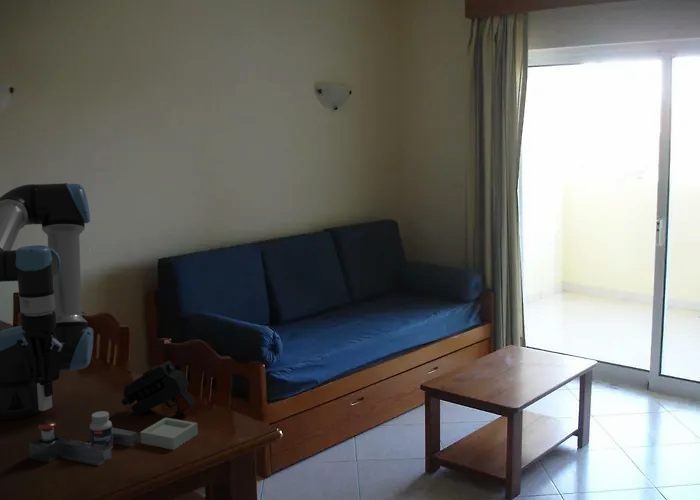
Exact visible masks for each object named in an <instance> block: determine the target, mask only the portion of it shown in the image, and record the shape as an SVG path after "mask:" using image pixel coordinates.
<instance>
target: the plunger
mask: <svg viewBox="0 0 700 500" xmlns="http://www.w3.org/2000/svg"><path fill="white" fill-rule="evenodd" d="M56 426H57V425H56V421H54V420H47V421H42V422H40V423H39V424H38V430H40V431H41V433H40V435H41V437H42V443H46V444H49V443H51V442H53V441H55V438H54V434H55V428H56Z"/></svg>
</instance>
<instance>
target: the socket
mask: <svg viewBox="0 0 700 500" xmlns="http://www.w3.org/2000/svg"><path fill="white" fill-rule="evenodd" d="M112 434H113V444H117V445H121V446H126V447H133V446H135V445H136V444H139V443H141V436H138V432H137V431H132V430H126V429H122V428H116V427H112ZM67 441H68V442H66V443H65V452H64V453H62V454H60V455H59V458H58V459H64V460H70V461H74V462H78V463H82V464H86V465H92V466H96V467H99V466H101V465H103V464H104V463H106V462H109V460H111V459H112V449H111V447H107V446H102V445H98V444H93V443H90V442H87V441H81V440H77V439H74V438H73V439H72V438H71V439H70V440H67Z"/></svg>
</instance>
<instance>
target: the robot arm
mask: <svg viewBox="0 0 700 500" xmlns="http://www.w3.org/2000/svg"><path fill="white" fill-rule="evenodd" d="M86 193H87V192H86V190H85V189H84V186H83V185H81V184H79V183H67V182H65V183H43V184H42V183H41V184H35V183H31V184H25V185H23V184H22V185H21V186H16V187H14V188H12V189H10V190H9V191H7V192H5V193H4V194H3V195H2V196H0V283H1V282H3V283H5V282H17V287H18V298H19V309H20V310H19V311H20V313H21V315H20V324H21V325H17V326H14V327H9V328H5V329H3V330H0V420H6V421H7V420H17V419H18V420H19V419H24V418H27V417H33V416H34V415H37V414H39V413H41V412H44V411H47V410H49V409H51V408H53V400H52V399H53V397H52V396H53V394H54V391H53V383H54V382H55V381H58V380H59V379H60V374H61V372H65V371H66V372H67V371H70V372H73V371H76V370H83V369H86V368H87V367H88V366H89V365H90V363H91V360H92V355H93V347H94V329H93V328H92V327H90V326H88V321H87V320H86V319H85V318H84V317H83V316H82V286H81V283H82V281H81V253H80V252H81V249H80V247H81V245H80V243H81V241H80V235H81V234H82V233H83V232H84V231H85V228H86V227H85V226H86V225H85V224H88V223H90V222H91V219H90V218H91V217H90V216H91V213H90V208H89V202H88V197H87V194H86ZM29 225H41V230H42V232H43V233H45V234H46V236H47V245H42V244H41V245H37V244H35V245H27V246H26V245H25V246H21V247H18V248H16V250H14V249H13V250H12V248H13V246H14V243H15V241H16V239H17V237H18V235H19V232H20V231H21V229H23V228H24V227H25V226H29Z"/></svg>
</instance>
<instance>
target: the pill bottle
mask: <svg viewBox="0 0 700 500" xmlns="http://www.w3.org/2000/svg"><path fill="white" fill-rule="evenodd" d="M109 419H110V413H109V412H108V411H103V410H101V411H95V412H94V413H92V414H91V422H90V424H89V440H90V442H89V443H93V444H98V445H102V446H107V447H111V450H112V449H113V447H114V443H113V434H112V428H113V424H112V423H113V422H112V421H111V420H109Z"/></svg>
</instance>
